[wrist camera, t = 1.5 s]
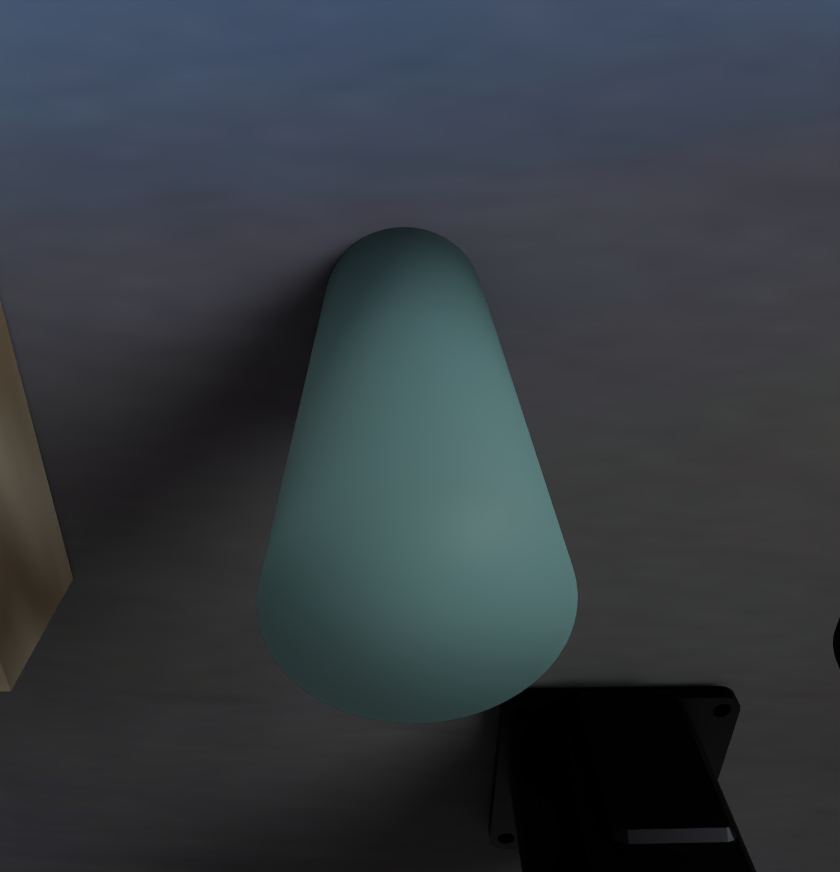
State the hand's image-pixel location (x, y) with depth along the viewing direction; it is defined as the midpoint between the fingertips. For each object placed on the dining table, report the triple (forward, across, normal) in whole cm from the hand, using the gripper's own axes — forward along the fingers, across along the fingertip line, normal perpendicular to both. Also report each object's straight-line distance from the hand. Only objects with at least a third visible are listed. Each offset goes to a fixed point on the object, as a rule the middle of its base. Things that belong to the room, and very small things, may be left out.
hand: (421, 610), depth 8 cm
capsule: (+9, 0, 0) cm, 9 cm away
